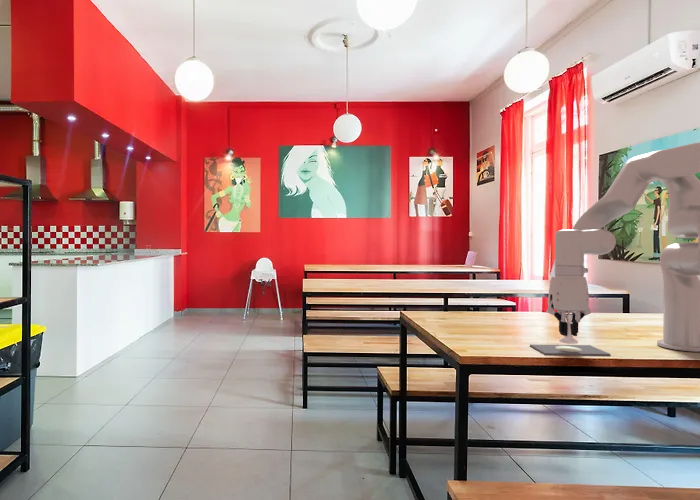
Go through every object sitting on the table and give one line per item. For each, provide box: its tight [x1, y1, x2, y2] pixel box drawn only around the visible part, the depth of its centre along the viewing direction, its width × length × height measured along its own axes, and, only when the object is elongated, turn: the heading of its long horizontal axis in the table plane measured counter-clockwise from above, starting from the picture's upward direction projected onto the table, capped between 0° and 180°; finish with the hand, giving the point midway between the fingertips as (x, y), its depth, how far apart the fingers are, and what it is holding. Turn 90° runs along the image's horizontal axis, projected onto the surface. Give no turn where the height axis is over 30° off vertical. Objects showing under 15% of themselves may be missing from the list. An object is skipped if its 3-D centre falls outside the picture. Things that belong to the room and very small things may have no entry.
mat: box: [529, 343, 611, 357], centre depth 127 cm, size 18×11×1 cm, turn 88°
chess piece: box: [558, 311, 579, 345], centre depth 127 cm, size 5×5×10 cm
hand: (568, 334), depth 127 cm, fingers closed on chess piece
